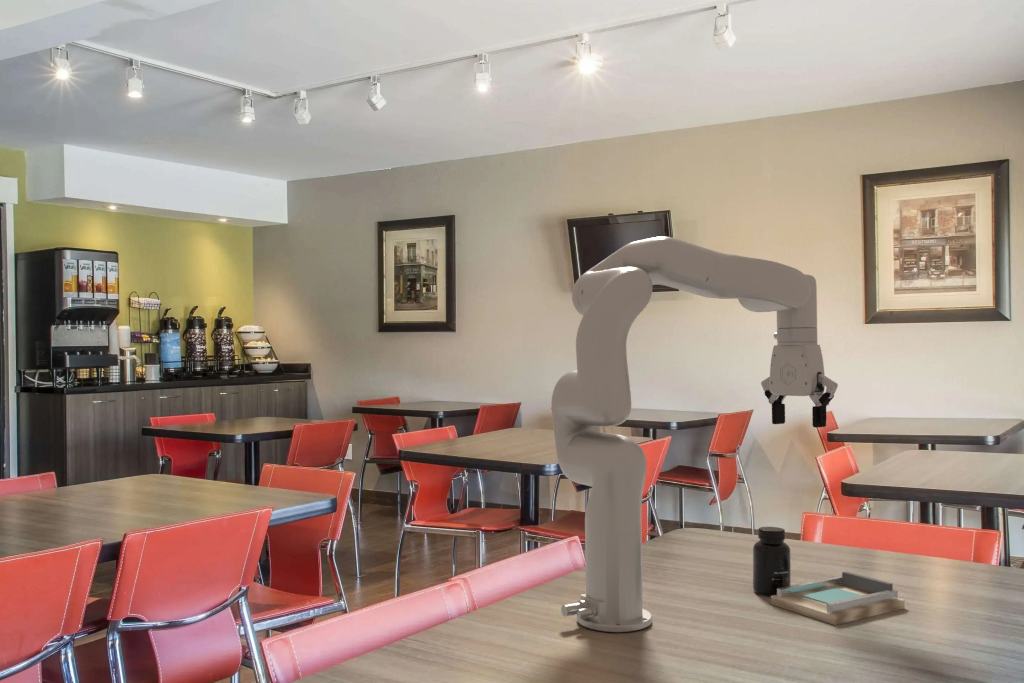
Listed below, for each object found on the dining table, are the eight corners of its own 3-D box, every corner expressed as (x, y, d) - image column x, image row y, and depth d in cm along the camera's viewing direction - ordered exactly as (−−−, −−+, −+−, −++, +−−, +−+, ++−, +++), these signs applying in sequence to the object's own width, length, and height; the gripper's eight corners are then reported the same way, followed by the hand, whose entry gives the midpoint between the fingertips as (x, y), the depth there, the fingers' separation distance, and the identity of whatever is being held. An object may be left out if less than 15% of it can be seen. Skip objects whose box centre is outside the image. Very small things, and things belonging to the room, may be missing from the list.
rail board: (834, 625, 143) (834, 600, 143) (771, 604, 155) (770, 581, 155) (904, 608, 152) (904, 585, 152) (839, 589, 164) (838, 568, 164)
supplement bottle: (783, 599, 158) (782, 533, 158) (747, 593, 162) (746, 529, 163) (796, 591, 164) (795, 527, 164) (761, 585, 168) (760, 523, 168)
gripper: (749, 338, 174) (751, 423, 174) (821, 336, 160) (823, 429, 159) (774, 338, 178) (776, 421, 178) (847, 336, 164) (849, 427, 164)
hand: (798, 425), depth 169 cm, fingers open, 9 cm apart
